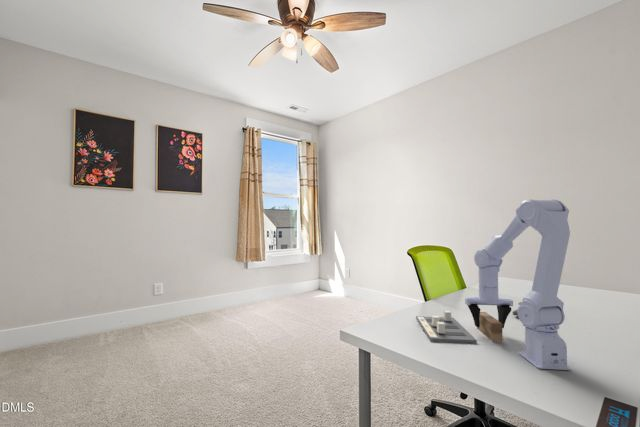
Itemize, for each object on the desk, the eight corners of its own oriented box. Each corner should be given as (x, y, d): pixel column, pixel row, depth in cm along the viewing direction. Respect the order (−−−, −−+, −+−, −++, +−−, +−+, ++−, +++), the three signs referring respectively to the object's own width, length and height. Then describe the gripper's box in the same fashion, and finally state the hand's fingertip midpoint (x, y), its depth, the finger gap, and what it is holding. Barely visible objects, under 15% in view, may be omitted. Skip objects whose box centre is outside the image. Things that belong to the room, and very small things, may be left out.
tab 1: (439, 326, 104) (439, 317, 104) (433, 326, 104) (433, 317, 104) (437, 324, 106) (437, 315, 106) (431, 324, 106) (431, 315, 106)
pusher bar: (502, 342, 94) (502, 323, 94) (492, 342, 94) (492, 323, 94) (485, 329, 106) (485, 312, 106) (477, 328, 106) (476, 311, 106)
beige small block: (444, 333, 98) (444, 323, 98) (438, 333, 98) (438, 323, 98) (443, 331, 100) (443, 321, 100) (436, 331, 100) (436, 321, 100)
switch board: (476, 343, 93) (476, 339, 93) (430, 341, 95) (430, 337, 95) (453, 320, 115) (453, 317, 115) (416, 318, 116) (416, 315, 117)
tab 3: (451, 321, 110) (451, 312, 110) (445, 320, 110) (445, 312, 110) (449, 319, 112) (449, 310, 112) (443, 319, 112) (443, 310, 112)
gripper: (505, 284, 104) (506, 323, 103) (461, 283, 105) (462, 322, 105) (516, 288, 97) (517, 330, 96) (469, 287, 98) (469, 329, 98)
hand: (489, 326), depth 100 cm, fingers open, 7 cm apart
